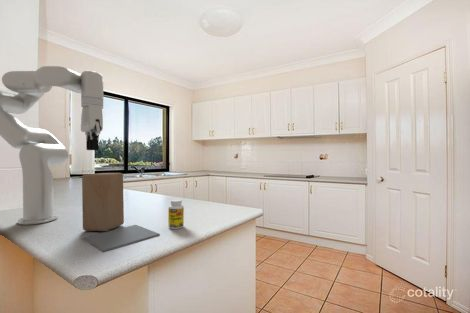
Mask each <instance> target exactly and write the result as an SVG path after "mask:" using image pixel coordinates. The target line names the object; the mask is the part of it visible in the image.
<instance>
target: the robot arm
mask: <svg viewBox="0 0 470 313" xmlns="http://www.w3.org/2000/svg"><path fill="white" fill-rule="evenodd" d="M1 81H2V84H3V86H4V87H5V88H6V89H7V90H9V91H11V92H13V93H11V92H8V91H3V90H0V137H1V138H2V139H3V140H4V141H5V142H7V144H8V145H10V146H11V147H12V148H14V149H18V150H19V154H18V156H19V157H18V158H19V162H20V165H21V166H20V167H21V170H22V171H21V172H22V173H21V174H22V217H21V218H19V219H18V220H17V224H18V225H28V226H29V225H37V224H38V225H39V224H44V223H49V222H52V221H56V220H57V219H58V214H55V213H54V176H53V173H52V171H51V169H50V167H54V166H55V167H56V166H57V167H58V166H61V165H64V164H66V163H67V161H68V159H69V154H70V153H69V150H68V149H67V148H66V147H65V145H63V143H61V141H59V140H58V139H57V137H55V136H54V135H53V134H52V133H51V132H49V131H48V130H46V129H43V128H38V127H32V126H31V127H30V126H27V125H26V124H25V125H24V124H23V123H22V122H21V121H20V120H19V119H18V118H17V117H16V116H14V115H15V114H16V115H21V114H22V115H23V114H25V113H26V112H28V111H29V110H30V109H31V108H32V107H34V105H36V103H37V102H38V101H39V100H40V99H41V98H42V97H44V95H45V93H49V92H50V91H51V90H52V89H53V87H59V88H62V89H65V90H68V91H71V92H74V93H77V94H80V96H81V98H80V99H81V100H80V101H81V104H80V106H81V108H82V110H81V115H80V116H81V117H80V131H81V132H83V133H84V135H85V138H86V141H85V142H86V148H85V149H86V150H87V151H99V149H100V148H99V146H100V145H99V140H100V135H101V132H102V131H103V126H104V124H103V123H104V121H103V120H104V118H103V117H104V116H103V109H104V76H103V75H102V73H100V72H99V71H94V70H84V71H82V73H78V72H77V71H74V70H72V69H69V68H67V67H64V66H59V65H45V66H41V67H39V68H37V69H36V70H11V71H7V72H5V73H4V74H3V75H2V77H1ZM16 93H17V94H16ZM13 114H14V115H13Z"/></svg>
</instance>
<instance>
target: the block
mask: <svg viewBox="0 0 470 313" xmlns="http://www.w3.org/2000/svg"><path fill="white" fill-rule="evenodd" d="M81 176H82V177H81V187H82V188H81V193H82V194H81V196H82V199H81V201H82V208H81V209H82V230H83V231H89V232H91V231H93V232H96V231H97V232H107V231H111V230H114V229H115V228H117V227H118V228H119V227H120V226H123V225H124V222H125V214H124V213H125V212H124V210H125V209H124V208H125V205H124V174H123V173H122V172H101V173H100V172H98V173H85V174H83V175H81Z"/></svg>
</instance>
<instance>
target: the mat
mask: <svg viewBox="0 0 470 313" xmlns="http://www.w3.org/2000/svg"><path fill="white" fill-rule="evenodd" d="M160 235H161V234H160V233H159V232H156V231H153V230H151V229H149V228H145V227H143V226H142V225H141V226H140V225H137V224H133V225H128V226H124V227H120V228H116V229H115V228H114V229H110V230H108V231H102V232H97V233H95V234H91V235H87V236H82V240H84V241H85V242H86V243H89V244H90V245H91V246H93V247H95V248H96V249H98V250H100V251H101V252H102V253H104V252H107V251H110V250H111V251H112V250H115V249H119V248H123V247H124V246H128V245H132V244H135V243H138V242H142V241H145V240H149V239H152V238H155V237H158V236H160Z"/></svg>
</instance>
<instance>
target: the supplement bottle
mask: <svg viewBox="0 0 470 313" xmlns="http://www.w3.org/2000/svg"><path fill="white" fill-rule="evenodd" d="M182 203H183V202H182V199H171V200H170V205H168V220H167V222H168V223H167V224H168V228H169V229H172V230H179V229H180V230H181V229H182V228H183V227H184V223H185V222H184V217H185V216H184V214H185V211H184V210H185V208H184V207H185V206H184V205H183V204H182Z"/></svg>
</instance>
